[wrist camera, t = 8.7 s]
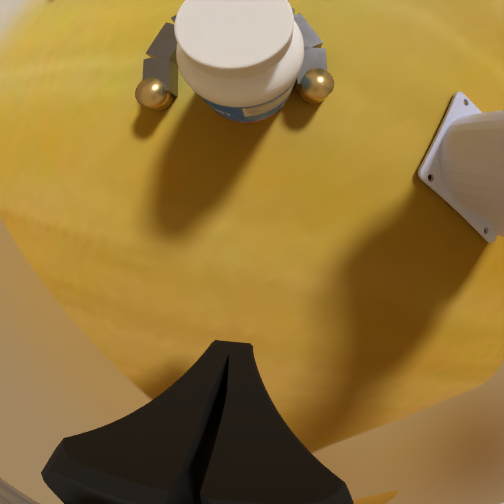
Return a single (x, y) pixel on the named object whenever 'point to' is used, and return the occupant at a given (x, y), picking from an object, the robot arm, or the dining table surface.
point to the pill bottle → (239, 55)
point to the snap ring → (166, 69)
